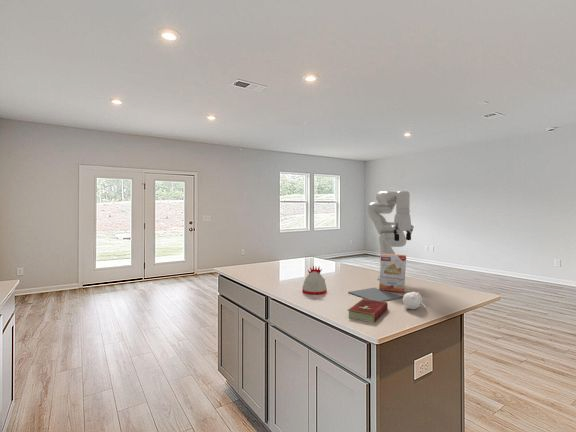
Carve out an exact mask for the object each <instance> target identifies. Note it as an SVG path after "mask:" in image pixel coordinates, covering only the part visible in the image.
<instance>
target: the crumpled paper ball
mask: <svg viewBox="0 0 576 432" xmlns="http://www.w3.org/2000/svg"><path fill="white" fill-rule="evenodd" d="M403 296H404V297H403V298H402V304H403V308H404V309H409V310H416V309H418V308H419V306H420V305H421V306H423V308H424V309H427V307H426V305H425V304H424V303H423V298H422V295H421V294H420V292H416V291H412V292H407V293H405V294H404V295H403Z"/></svg>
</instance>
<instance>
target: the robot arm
mask: <svg viewBox="0 0 576 432" xmlns="http://www.w3.org/2000/svg"><path fill="white" fill-rule="evenodd" d="M375 199H376V201H374V202H370V203H368V205H367V214H368V217H369V218H370V220H371V221H372V223H373V225H374V227H375V229H376V232H377V233H378V234H379V236H378V243H379V251H380V253H379V254H380V255H379V256H380V262H379V263H380V264H379V265H381V253H383V254H396V252H395V250H394V249H393V248H394V247H395V248H401V247H402V248H403V247H404V246H405V245H406V244H407V241H412V233H413V230H414V225H413V224H412V222H411V221H412V220H411V214H410V212H411V211H410V204H411V203H410V202H411V201H410V192H409V191H408V190H407V191H406V190H401V191H391V190H389V191H388V190H382V191H378V192H377V193H376V195H375ZM395 207H396V208H395ZM394 209H395V211H396V212H395V214H394V219H393V222H392V221H391V222H390V221H387V219H386V218H385V217H384V216H383V215H385V214H391V213H392V212H393V211H394ZM382 214H383V215H382ZM404 231H405V232H406V234H405V232H404ZM377 280H378V281H380V275H379V276H378V277H377Z"/></svg>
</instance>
